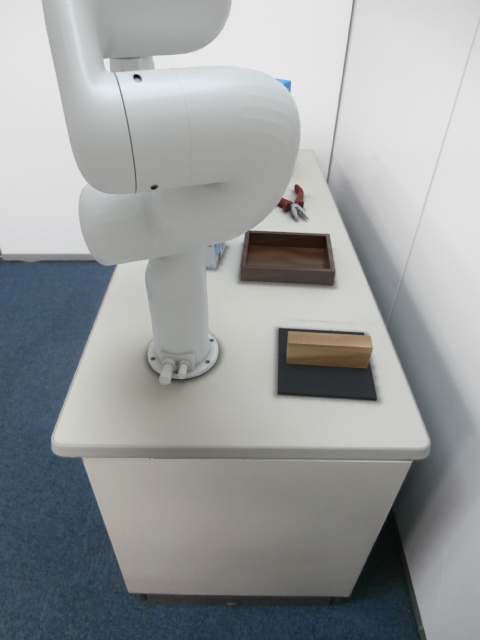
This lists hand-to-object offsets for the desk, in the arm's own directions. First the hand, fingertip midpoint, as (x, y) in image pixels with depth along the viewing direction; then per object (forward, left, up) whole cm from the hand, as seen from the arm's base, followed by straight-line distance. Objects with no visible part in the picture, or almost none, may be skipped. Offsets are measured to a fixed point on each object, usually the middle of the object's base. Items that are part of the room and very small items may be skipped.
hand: (143, 158), depth 77 cm
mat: (-18, -33, -28) cm, 47 cm away
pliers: (+43, -26, -29) cm, 58 cm away
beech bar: (-18, -33, -28) cm, 47 cm away
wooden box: (+13, -26, -28) cm, 41 cm away
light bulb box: (+15, -8, -29) cm, 33 cm away
